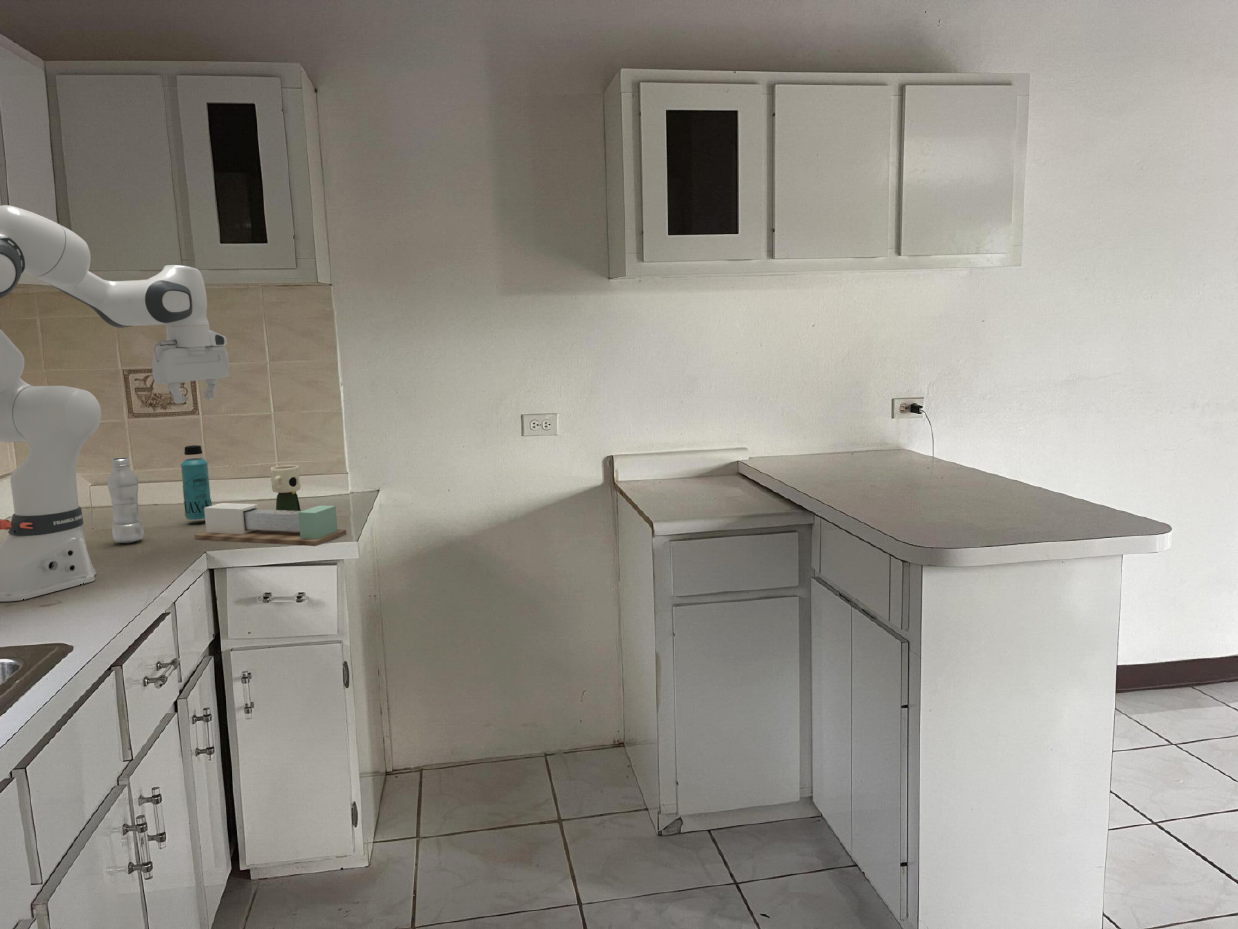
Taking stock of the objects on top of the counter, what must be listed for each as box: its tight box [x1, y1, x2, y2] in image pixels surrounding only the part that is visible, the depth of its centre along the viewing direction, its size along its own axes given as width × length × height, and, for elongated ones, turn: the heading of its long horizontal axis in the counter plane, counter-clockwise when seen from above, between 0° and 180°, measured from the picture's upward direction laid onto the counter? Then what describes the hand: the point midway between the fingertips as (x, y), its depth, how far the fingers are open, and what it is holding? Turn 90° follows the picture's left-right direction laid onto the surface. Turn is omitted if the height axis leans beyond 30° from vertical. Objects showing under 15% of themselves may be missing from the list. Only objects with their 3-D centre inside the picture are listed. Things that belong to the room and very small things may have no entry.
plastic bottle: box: [106, 456, 145, 544], centre depth 221 cm, size 6×7×20 cm
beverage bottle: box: [180, 444, 212, 521], centre depth 241 cm, size 6×7×20 cm
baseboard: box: [193, 528, 347, 547], centre depth 224 cm, size 34×12×1 cm, turn 73°
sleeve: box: [204, 502, 259, 534], centre depth 227 cm, size 11×6×6 cm, turn 73°
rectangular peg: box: [244, 508, 302, 532], centre depth 223 cm, size 20×4×4 cm, turn 73°
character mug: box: [269, 464, 302, 511], centre depth 248 cm, size 11×7×13 cm, turn 173°
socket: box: [298, 505, 338, 539], centre depth 220 cm, size 4×8×6 cm, turn 163°
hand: (195, 401), depth 213 cm, fingers open, 8 cm apart
